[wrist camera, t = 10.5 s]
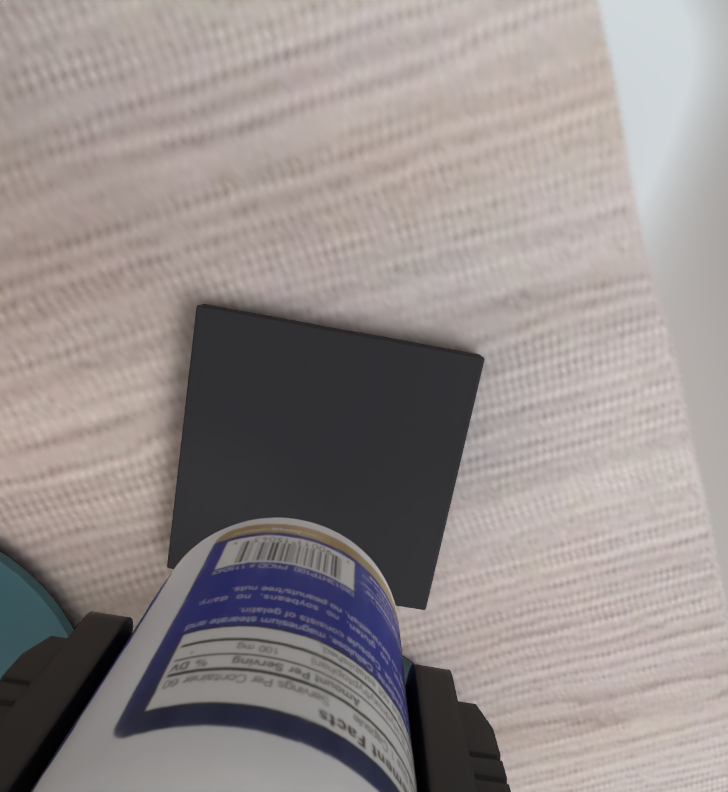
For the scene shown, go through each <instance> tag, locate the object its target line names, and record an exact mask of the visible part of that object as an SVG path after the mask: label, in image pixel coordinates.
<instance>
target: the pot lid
mask: <svg viewBox="0 0 728 792" xmlns="http://www.w3.org/2000/svg"><path fill="white" fill-rule="evenodd" d="M73 631H74V629H73V627H72V626H71V624H70V622H69V621H68V619H67V618H66V616H65V614H64V613H63V611H62V610H61V608H60V607H59V605H58V604H57V603H56V602H55V600H54V599H53V598H52V597H51V596H50V594H49V593H48V592H47V591H46V589H45V588H44V587H43V586H42V585H41V584H40V583H38V582H37V581H36V580H35V579H34V578H33V577H32V576H31V575H30V574H29V573H28V572H27V571H26V570H24V569H23V568H22V567H21V566H19V565H18V564H17V563H15V562H14V561H13V560H12V559H10V558H9V557H8V556H6V555H4V554H3V553H1V552H0V680H1V677H2V676H3V674H4V673H5V672H6V671H7V670H8V669H9V668H10V667H11V666H12V664H13V663H14V662H15V661H16V660H17V659H18V658H19V657H20V656H21V654H22V653H24V652H26V651H27V650H29V649H31V648H32V647H34V646H35V645H37V644H39V643H40V642H42V641H44V640H45V639H47V638H49V637H50V636H56V637H63V638H68V637H69V636H70V634H71V633H72V632H73Z"/></svg>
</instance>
